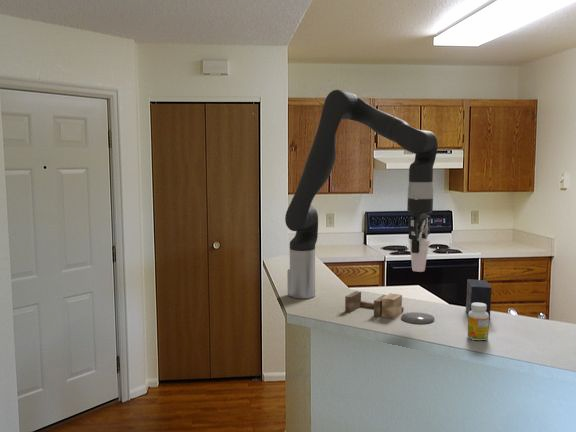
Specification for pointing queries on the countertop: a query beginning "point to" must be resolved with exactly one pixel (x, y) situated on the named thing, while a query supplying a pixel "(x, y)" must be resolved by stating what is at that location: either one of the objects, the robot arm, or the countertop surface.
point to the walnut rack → (376, 304)
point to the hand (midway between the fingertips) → (418, 250)
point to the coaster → (417, 318)
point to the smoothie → (419, 255)
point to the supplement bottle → (478, 322)
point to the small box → (478, 294)
